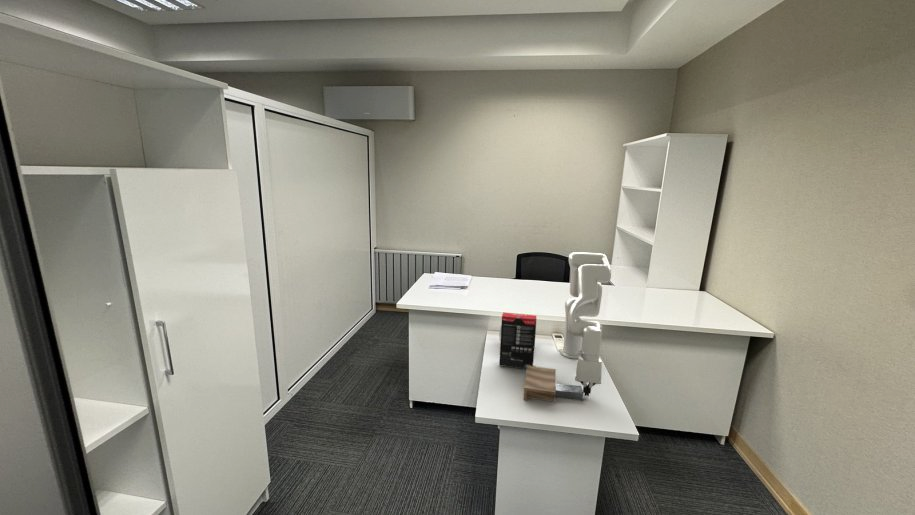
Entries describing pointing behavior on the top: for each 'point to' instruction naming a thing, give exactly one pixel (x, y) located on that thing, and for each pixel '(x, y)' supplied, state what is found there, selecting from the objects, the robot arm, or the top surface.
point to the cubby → (540, 383)
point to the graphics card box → (517, 340)
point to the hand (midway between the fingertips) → (586, 394)
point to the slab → (569, 392)
